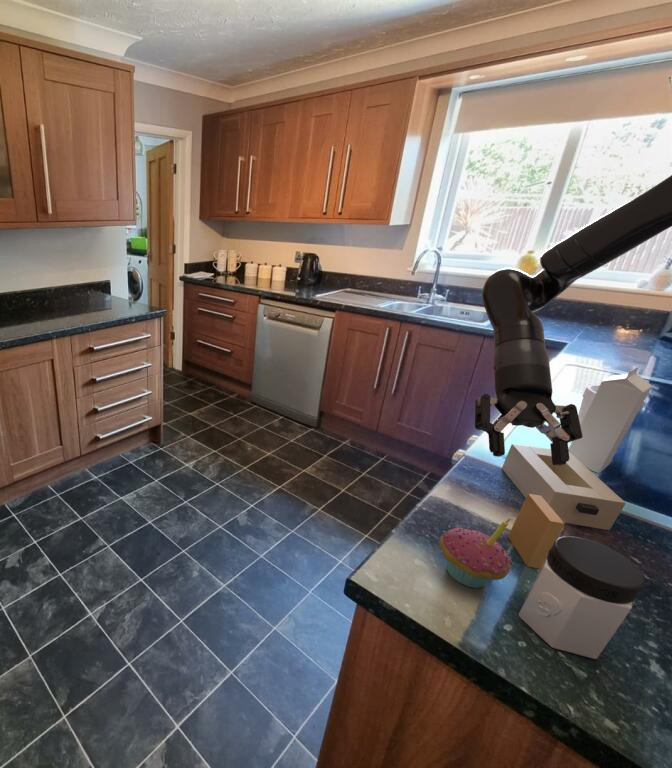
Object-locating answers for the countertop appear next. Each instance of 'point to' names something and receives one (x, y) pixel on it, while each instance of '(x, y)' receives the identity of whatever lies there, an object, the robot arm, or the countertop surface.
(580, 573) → the jar
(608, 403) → the milk
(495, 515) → the countertop surface
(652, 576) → the countertop surface
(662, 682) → the countertop surface
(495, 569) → the cupcake
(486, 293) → the robot arm
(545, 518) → the toast
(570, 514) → the toaster
